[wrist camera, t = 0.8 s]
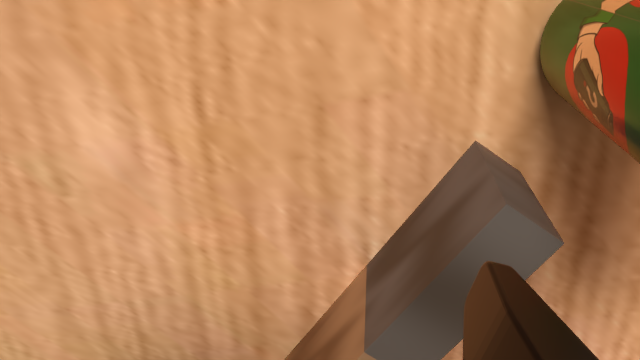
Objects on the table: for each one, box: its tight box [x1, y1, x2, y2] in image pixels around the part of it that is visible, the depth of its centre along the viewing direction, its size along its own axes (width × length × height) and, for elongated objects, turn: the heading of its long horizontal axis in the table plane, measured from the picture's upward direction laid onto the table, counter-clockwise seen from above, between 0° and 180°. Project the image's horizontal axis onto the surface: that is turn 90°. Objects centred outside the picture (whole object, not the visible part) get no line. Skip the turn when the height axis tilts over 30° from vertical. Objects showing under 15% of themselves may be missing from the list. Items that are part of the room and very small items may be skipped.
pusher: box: [285, 141, 564, 360], centre depth 23 cm, size 16×2×6 cm, turn 146°
